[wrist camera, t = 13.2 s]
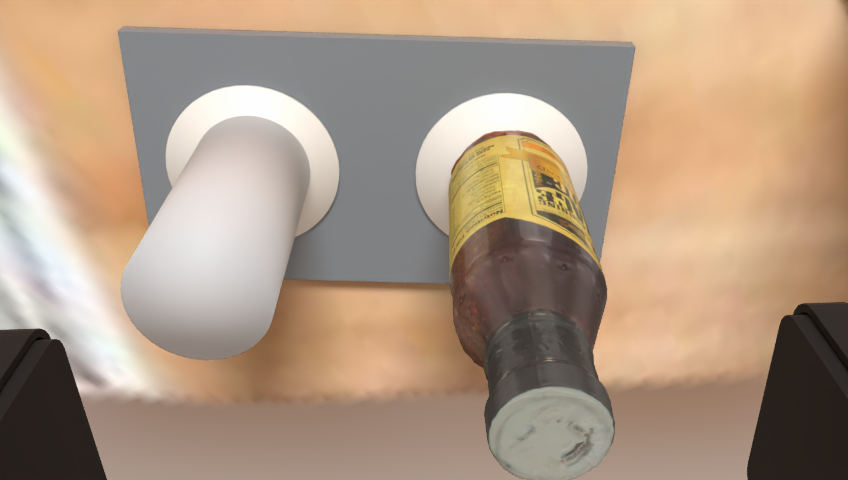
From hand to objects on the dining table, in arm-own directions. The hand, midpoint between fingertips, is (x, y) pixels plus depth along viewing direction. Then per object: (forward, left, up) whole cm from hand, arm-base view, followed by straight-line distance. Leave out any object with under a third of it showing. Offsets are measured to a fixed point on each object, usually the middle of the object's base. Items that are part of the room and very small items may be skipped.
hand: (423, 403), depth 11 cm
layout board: (+2, +11, -31) cm, 33 cm away
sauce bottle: (-5, +11, -31) cm, 33 cm away
